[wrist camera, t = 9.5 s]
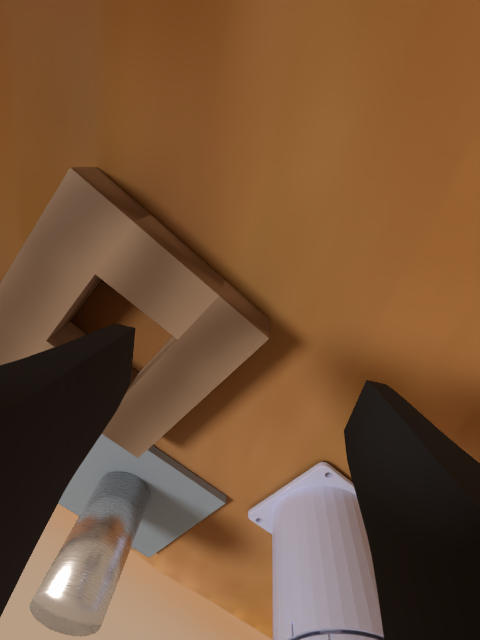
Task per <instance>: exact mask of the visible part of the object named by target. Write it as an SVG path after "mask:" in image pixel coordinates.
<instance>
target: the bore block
mask: <svg viewBox="0 0 480 640" xmlns="http://www.w3.org/2000/svg"><path fill="white" fill-rule="evenodd" d="M101 280H103V281H104V282H106V283H107V284H108V285H109V286H111V287H112V288H113V289H114V290H116V291H117V292H118V293H120V294H121V295H122V296H123V297H125V298H126V299H127V300H128V301H130V302H131V303H132V304H133V305H135V306H136V307H137V308H138V309H140V310H141V311H142V312H143V313H145V314H146V315H147V316H148V317H150V318H151V319H152V320H154V321H155V322H156V323H157V324H159V325H160V326H161V327H162V328H164V329H165V330H166V331H167V332H169V333H170V334H171V335H172V338H171V339H170V340H169V341H168V342H167V343H166V344H165V345H164V346H163V347H162V348H161V349H160V350H159V351H158V353H157V354H156V355H155V356H154V357H153V358H152V359H151V360H150V361H149V362H148V363H147V364H146V365H145V366H144V367H143V369H142V370H141V371H140V372H139V373H138V372H137V371H136V370H134V369H133V368H132V371H131V382H130V385H129V387H128V389H127V391H126V393H125V395H124V398H123V400H122V402H121V404H120V406H119V408H118V410H117V411H116V413H115V414H114V416H113V417H112V419H111V420H110V422H109V423H108V425H107V426H106V428H105V430H104V431H103V433H102V434H103V435H104V436H106V437H107V438H109V439H110V440H112V441H113V442H115V443H116V444H118V445H119V446H121V447H122V448H124V449H125V450H127V451H128V452H130V453H131V454H133V455H134V456H135V457H137V458H139V457H140V456H141V455H142V454H143V453H144V452H146V451H147V450H148V449H149V448H150V447H151V446H152V445H153V444H154V443H155V442H156V441H158V440H159V439H160V438H161V437H162V436H163V435H164V434H165V433H166V432H167V431H169V430H170V429H171V428H172V427H173V426H174V425H175V424H176V423H177V422H178V421H180V420H181V419H182V418H183V417H184V416H185V415H186V414H187V413H188V412H189V411H190V410H192V409H193V408H194V407H195V406H196V405H197V404H198V403H199V402H200V401H201V400H203V399H204V398H205V397H206V396H207V395H208V394H209V393H210V392H211V391H212V390H214V389H215V388H216V387H217V386H218V385H219V384H220V383H221V382H222V381H223V380H224V379H226V378H227V377H228V376H229V375H230V374H231V373H232V372H233V371H234V370H235V369H237V368H238V367H239V366H240V365H241V364H242V363H243V362H244V361H245V360H246V359H248V358H249V357H250V356H251V355H252V354H253V353H254V352H255V351H256V350H257V349H258V348H260V347H261V346H262V345H263V344H264V343H265V342H266V341H267V340H268V339H269V318H268V317H267V316H266V315H264V314H263V313H262V312H261V311H260V310H259V309H258V308H257V307H255V306H254V305H253V304H252V303H251V302H250V301H249V300H247V299H246V298H245V297H244V296H243V295H242V294H241V293H239V292H238V291H237V290H236V289H235V288H234V287H233V286H231V285H230V284H229V283H228V282H227V281H226V280H225V279H223V278H222V277H221V276H220V275H219V274H218V273H217V272H216V271H214V270H213V269H212V268H211V267H210V266H209V265H208V264H206V263H205V262H204V261H203V260H202V259H201V258H200V257H198V256H197V255H196V254H195V253H194V252H193V251H192V250H190V249H189V248H188V247H187V246H186V245H185V244H184V243H182V242H181V241H180V240H179V239H178V238H177V237H176V236H175V235H173V234H172V233H171V232H170V231H169V230H168V229H167V228H165V227H164V226H163V225H162V224H161V223H160V222H159V221H157V220H156V219H155V218H154V217H153V216H152V215H151V214H149V213H148V212H147V211H146V210H145V209H144V208H143V207H141V206H140V205H139V204H138V203H137V202H136V201H135V200H134V199H132V198H131V197H130V196H129V195H128V194H127V193H126V192H124V191H123V190H122V189H121V188H120V187H119V186H118V185H116V184H115V183H114V182H113V181H112V180H111V179H110V178H108V177H107V176H106V175H105V174H104V173H103V172H102V171H100V170H99V169H98V168H97V167H72V168H70V169H69V170H68V172H67V174H66V175H65V177H64V179H63V180H62V182H61V184H60V185H59V187H58V189H57V190H56V192H55V194H54V195H53V197H52V199H51V200H50V202H49V204H48V205H47V207H46V209H45V210H44V212H43V213H42V215H41V217H40V218H39V220H38V222H37V223H36V225H35V227H34V228H33V230H32V232H31V233H30V235H29V237H28V238H27V240H26V242H25V243H24V245H23V247H22V248H21V250H20V252H19V253H18V255H17V257H16V258H15V260H14V262H13V263H12V265H11V266H10V268H9V270H8V271H7V273H6V275H5V276H4V278H3V280H2V281H1V283H0V365H3V364H6V363H10V362H13V361H16V360H19V359H23V358H26V357H28V356H31V355H34V354H37V353H40V352H43V351H45V350H48V349H51V348H54V347H57V346H59V345H62V344H65V343H67V342H70V341H72V340H75V339H77V338H80V337H82V336H85V335H87V334H86V333H84V332H83V331H82V330H80V329H79V328H78V327H76V326H75V325H74V324H72V323H71V322H70V321H71V320H72V319H73V317H74V316H75V315H76V313H77V312H78V311H79V309H80V308H81V307H82V305H83V304H84V303H85V301H86V300H87V299H88V297H89V296H90V295H91V293H92V292H93V291H94V289H95V288H96V287H97V285H98V284H99V283H100V281H101Z"/></svg>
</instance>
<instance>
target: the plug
mask: <svg viewBox="0 0 480 640" xmlns="http://www.w3.org/2000/svg"><path fill="white" fill-rule="evenodd" d="M149 499H150V490H149V488H148V486H147V485H146V483H145V482H144V481H143V480H142V479H140V478H139V477H137V476H136V475H134V474H131V473H128V472H124V471H113V472H109V473H107V474H105V475H104V476H102V478H101V479H100V481H99V482H98V484H97V486H96V488H95V490H94V491H93V493H92V495H91V497H90V498H89V500H88V502H87V504H86V505H85V507H84V509H83V511H82V512H81V514H80V516H79V518H78V520H77V521H76V523H75V525H74V527H73V528H72V530H71V532H70V534H69V535H68V537H67V539H66V541H65V543H64V544H63V546H62V548H61V550H60V551H59V553H58V555H57V557H56V559H55V560H54V562H53V564H52V566H51V567H50V569H49V571H48V573H47V574H46V576H45V578H44V580H43V582H42V583H41V585H40V587H39V588H38V590H37V592H36V594H35V596H34V597H33V599H32V601H31V603H30V610H31V612H32V614H33V616H34V617H35V618H36V619H37V620H38V621H39V622H40V623H42V624H43V625H44V626H46V627H48V628H49V629H51V630H54V631H56V632H59V633H62V634H66V635H71V636H87V635H91V634H93V633H96V632H97V631H98V630H99V629H100V627H101V625H102V622H103V620H104V617H105V614H106V612H107V609H108V606H109V604H110V601H111V599H112V596H113V593H114V591H115V588H116V586H117V583H118V580H119V578H120V575H121V572H122V570H123V567H124V565H125V562H126V559H127V556H128V554H129V551H130V549H131V546H132V544H133V541H134V538H135V536H136V533H137V531H138V528H139V525H140V523H141V520H142V517H143V515H144V512H145V510H146V507H147V504H148V502H149Z"/></svg>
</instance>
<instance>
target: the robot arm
mask: <svg viewBox="0 0 480 640" xmlns="http://www.w3.org/2000/svg"><path fill="white" fill-rule="evenodd" d="M134 337H135V328H133V327H128V326H124V325H119V324H113V325H110V326H107V327H104V328H102V329H99V330H97V331H94V332H92V333H89V334H87V335H85V336H82V337H80V338H77V339H75V340H72V341H70V342H67V343H65V344H62V345H59V346H57V347H54V348H51V349H48V350H45V351H43V352H40V353H37V354H34V355H31V356H28V357H26V358H23V359H19V360H16V361H13V362H10V363H6V364H3V365H0V616H1V614H2V613H3V610H4V608H5V606H6V604H7V602H8V600H9V598H10V596H11V594H12V592H13V590H14V588H15V586H16V584H17V582H18V580H19V578H20V576H21V574H22V572H23V569H24V568H25V566H26V564H27V562H28V560H29V558H30V556H31V554H32V552H33V550H34V548H35V546H36V544H37V542H38V540H39V538H40V536H41V534H42V532H43V531H44V529H45V527H46V525H47V523H48V521H49V519H50V517H51V515H52V513H53V512H54V510H55V508H56V506H57V504H58V502H59V500H60V499H61V497H62V495H63V493H64V491H65V489H66V487H67V486H68V484H69V483H70V481H71V479H72V478H73V476H74V474H75V473H76V471H77V470H78V468H79V467H80V465H81V464H82V462H83V461H84V459H85V458H86V456H87V455H88V453H89V452H90V450H91V449H92V447H93V446H94V444H95V443H96V441H97V440H98V438H99V437H100V436H101V434H102V433H103V431H104V430H105V428H106V426H107V425H108V423H109V422H110V420H111V419H112V417H113V416H114V414H115V413H116V411H117V410H118V408H119V406H120V404H121V402H122V400H123V398H124V395H125V393H126V391H127V389H128V387H129V385H130V382H131V371H132V360H133V348H134ZM344 435H345V445H346V453H347V461H348V465H349V469H350V473H351V477H352V481H353V483H352V482H351V481H350V480H348V479H347V478H346V477H345V476H343V475H342V474H341V473H340V472H338V471H337V470H336V469H335V468H333V467H332V466H331V465H330V464H328V463H326V462H320V463H318V464H316V465H315V466H314V467H312V468H311V469H309V470H308V471H306V472H305V473H303V474H302V475H300V476H299V477H297V478H296V479H294V480H293V481H291V482H290V483H288V484H287V485H285V486H284V487H283V488H281V489H280V490H278V491H277V492H275V493H274V494H272V495H271V496H269V497H268V498H266V499H265V500H263V501H262V502H260V503H259V504H257V505H256V506H254V507H253V508H252V509H250V510H249V511H248V518H249V519H250V520H251V521H253V522H254V523H256V524H257V525H259V526H260V527H262V528H263V529H265V530H266V531H268V532H269V533H270V534H272V556H273V640H480V463H478V462H477V461H476V460H475V459H473V458H472V457H471V456H470V455H469V454H467V453H466V452H465V451H464V450H462V449H461V448H460V447H459V446H457V445H456V444H455V443H454V442H453V441H452V440H450V439H449V438H448V437H447V436H446V435H444V434H443V433H442V432H441V431H440V430H439V429H438V428H436V427H435V426H434V425H433V424H432V423H431V422H430V421H428V420H427V419H426V418H425V417H424V416H423V415H422V414H421V413H420V412H418V411H417V410H416V409H415V408H414V407H413V406H412V405H411V404H409V403H408V402H407V401H406V400H405V399H404V398H403V397H401V396H400V395H399V394H398V393H397V392H395V391H394V390H393V389H392V388H390V387H389V386H387V385H386V384H381V383H377V382H373V381H368V380H366V383H365V385H364V387H363V389H362V392H361V394H360V396H359V398H358V400H357V403H356V405H355V407H354V409H353V412H352V414H351V416H350V418H349V421H348V423H347V425H346V427H345V430H344ZM328 472H329V473H328Z"/></svg>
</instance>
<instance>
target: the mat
mask: <svg viewBox="0 0 480 640" xmlns="http://www.w3.org/2000/svg"><path fill="white" fill-rule="evenodd" d="M113 471H124V472H128V473H131V474H134V475H136V476H137V477H139V478H140V479H142V480H143V481H144V482H145V483H146V485H147V486H148V488H149V490H150V499H149V502H148V504H147V507H146V510H145V512H144V515H143V517H142V520H141V523H140V525H139V528H138V531H137V533H136V536H135V538H134V541H133V544H132V546H131V547H132V548H134V549H135V550H137V551H139V552H140V553H142V554H144V555H145V556H147V557H149V558H150V557H151V556H152V555H154V554H155V553H157V552H158V551H159V550H161V549H162V548H164V547H165V546H166V545H168V544H169V543H171V542H172V541H173V540H175V539H176V538H178V537H179V536H180V535H182V534H183V533H185V532H186V531H187V530H189V529H190V528H192V527H193V526H194V525H196V524H197V523H199V522H200V521H201V520H203V519H204V518H206V517H207V516H208V515H210V514H211V513H213V512H214V511H215V510H217V509H218V508H220V507H221V506H222V505H224V504H225V503H226V496H225V495H224V494H222V493H221V492H220V491H218V490H217V489H215V488H214V487H212V486H211V485H209V484H208V483H206V482H205V481H204V480H202V479H201V478H199V477H198V476H196V475H195V474H193V473H192V472H191V471H189V470H188V469H186V468H185V467H183V466H182V465H180V464H179V463H178V462H176V461H175V460H173V459H172V458H170V457H169V456H167V455H166V454H165V453H163V452H162V451H160V450H159V449H157V448H156V447H154V446H153V445H152V446H151V447H150V448H149V449H148V450H147V451H146V452H144V453H143V454H142V455H141V456H140V457H139V458H137V457H135V456H134V455H133V454H131V453H130V452H128V451H127V450H125V449H124V448H122V447H121V446H119V445H118V444H116V443H115V442H113V441H112V440H110V439H109V438H107V437H106V436H104V435H103V434H101V436H100V437H99V438H98V440H97V441H96V443H95V444H94V446H93V447H92V449H91V450H90V452H89V453H88V455H87V456H86V458H85V459H84V461H83V462H82V464H81V465H80V467H79V468H78V470H77V471H76V473H75V474H74V476H73V478H72V479H71V481H70V483H69V484H68V486H67V487H66V489H65V491H64V493H63V495H62V497H61V499H60V500H59V502H58V503H59V504H60V505H62V506H64V507H65V508H67V509H69V510H70V511H72V512H74V513H75V514H77V515H79V516H80V514H81V512H82V511H83V509H84V507H85V505H86V504H87V502H88V500H89V498H90V497H91V495H92V493H93V491H94V490H95V488H96V486H97V484H98V482H99V481H100V479H101V478H102V476H104V475H105V474H107V473H109V472H113Z"/></svg>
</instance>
